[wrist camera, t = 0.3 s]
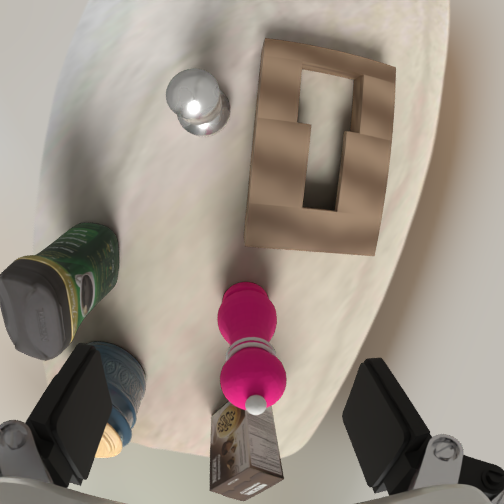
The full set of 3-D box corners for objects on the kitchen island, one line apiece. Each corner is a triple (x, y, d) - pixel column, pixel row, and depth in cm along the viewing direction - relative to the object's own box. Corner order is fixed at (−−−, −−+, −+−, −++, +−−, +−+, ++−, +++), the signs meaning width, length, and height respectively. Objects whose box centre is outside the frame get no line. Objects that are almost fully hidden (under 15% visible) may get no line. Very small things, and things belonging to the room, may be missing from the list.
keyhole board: (262, 49, 32) (265, 38, 28) (381, 73, 33) (395, 67, 29) (243, 237, 39) (245, 246, 35) (362, 246, 40) (374, 256, 36)
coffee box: (239, 429, 49) (243, 502, 34) (210, 415, 48) (207, 491, 32) (272, 402, 48) (286, 480, 32) (243, 387, 46) (248, 468, 31)
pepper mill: (208, 292, 41) (193, 400, 22) (257, 268, 40) (279, 366, 21) (234, 333, 43) (238, 446, 24) (280, 311, 42) (313, 419, 23)
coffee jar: (71, 218, 36) (-18, 264, 19) (122, 225, 37) (47, 280, 19) (72, 283, 39) (1, 354, 21) (120, 293, 40) (63, 376, 22)
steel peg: (182, 88, 33) (161, 60, 21) (232, 90, 33) (232, 61, 22) (177, 135, 34) (153, 126, 23) (227, 138, 35) (225, 129, 23)
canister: (81, 326, 41) (28, 400, 24) (156, 359, 44) (130, 449, 27) (73, 379, 44) (34, 450, 28) (138, 408, 47) (116, 488, 30)
